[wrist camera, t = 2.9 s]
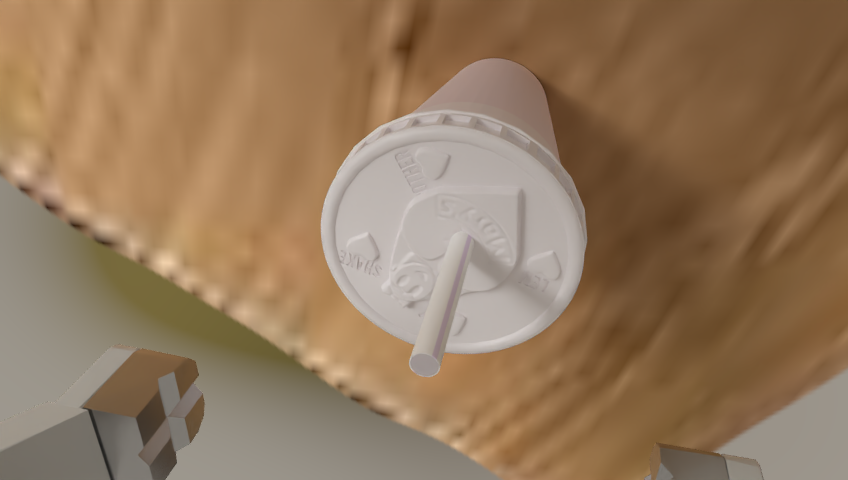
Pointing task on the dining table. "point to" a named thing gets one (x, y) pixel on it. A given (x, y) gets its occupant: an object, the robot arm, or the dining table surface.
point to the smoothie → (459, 219)
